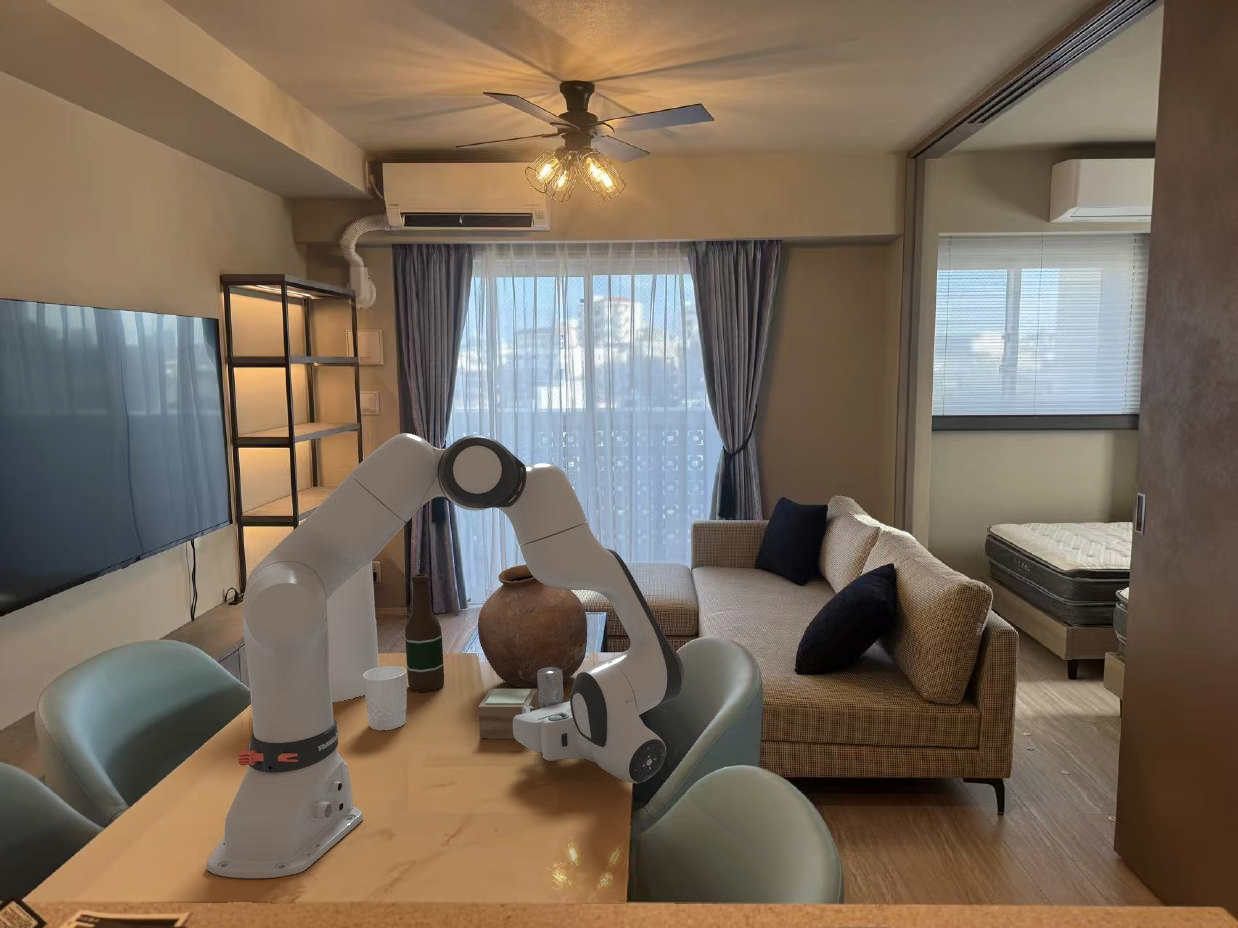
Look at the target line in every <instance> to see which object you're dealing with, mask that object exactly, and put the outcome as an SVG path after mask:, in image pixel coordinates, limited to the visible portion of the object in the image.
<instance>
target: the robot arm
mask: <svg viewBox="0 0 1238 928" xmlns="http://www.w3.org/2000/svg"><path fill="white" fill-rule="evenodd" d="M435 498H441V499H443V500H445V501H447V502H449V503H452V504H453V505H455V506H456V507H459V508H460V509H464V510H467V511H475V512H477V511H485V510H487V509H492V508H493V509H494V508H496V509H498V510H500V511H501V512H503V513H504V514H505V515H506V517H507V518H508V519H509V522H510V524H511V525H512V528H513V530H514V533H515V536H516V539H517V543H518V545H519V548H520V551H521V554H522V558H523V560H524V563H525V565H527V567H528V569H529V571H530V572H531V574H532V575H533V577H535V578H536V579H537V580H538V581H539V582H541V583H543V584H544V585H547V586H549V587H552V588H556V589H562V590H571V591H592V592H595V593H598V594H601V595H602V596H604V597H605V598H606V599H607V600H608V601H609V602H610V604H611V606H612V608H613V610H614V612H615V614H616V615H617V618H618V619H619V621H620V623H621V625H622V627H623V629H624V630H625V633H626V634H627V636H628V639H629V640H630V646H629V648H628V649H627V650H625V651H623V652H621V653H619V654H616V655H614V656H612V657H611V658H608V659H606V660H602V661H600V662H599V663H596V664H594V665H593V666H591V667H589V668H587V669H585V670H583V671H581V672H578V674H577V675H576V677H575V678H574V681H573V684H572V687H571V692H570V694H568V698H569V699H568V701H564V703H560V704H556V705H553V706H549V707H545V708H542V709H539V708H538V710H534V707H532V706H531V705H529V706H525V707H522V714H519V715H516V716H515V717H514V719H513V735H514V738H515V739H514V740H516V741H517V742H518V743H520V744H522V745H523V746H524V747H526V748H527V749H528V750H531V751H534V752H537V753H541V755H542V757H543V759H544V760H546V761H560V760H568V759H570V760H571V759H574V760H575V759H576V760H585V759H586V760H587V761H589V762H592V763H595V764H597V766H599V768H601V769H602V770H603V771H605V772H607V773H609V774H610V775H611V776H613V777H615V778H618V779H619V780H621V781H624V782H627V783H631V784H642V783H645V782H647V781H649V780H650V779H651V778H652V777H654V776H655V775H656V774H657V773H658V772H659V771H660V770H661V768H662V766H663V765H664V762H665V761H666V760H665V759H666V756H667V748H666V745H665V742H664V741H663V739H662V738H660V736H659V735H657V734H656V733H655V732H654V731H652V730H651V729H650V728H648V727H647V726H646V724H644V722H643V720H642V719H641V717H640V715H642V714H643V713H645V712H647V711H649V710H651V709H653V708H655V707H659V706H661V705H664V704H667V703H668V702H671V701H673V700H676V699H677V698H678V696H679V695H680V694H681V690H682V686H683V684H684V680H685V679H684V678H685V668H684V667H685V666H684V664H683V661H682V659H681V657H680V655H679V654H678V652H677V651H676V649H675V648H674V646H673V645H672V643H671V642H670V641H669V640H668V638H667V637H666V635H665V633H664V632H663V630H662V629H661V627H660V625H659V623H658V621H657V619H656V618H655V615H654V614H653V612H652V610H651V608H650V605H649V604H648V602H647V601H646V598H645V597H644V595H643V592H642V591H641V589H640V587H639V585H638V584H637V582H636V579H635V578H634V576H633V574H632V573H631V570H629V568H628V566H627V565H626V562H624V560H623V559H622V557H621V556H620V555H619V553H617V551H615V550H613V549H610V548H606V547H605V546H603V545H602V544H601V542H600V541H599V540H598V539H597V538H596V536H595V535H594V533H593V532H592V530H591V528H590V524H589V523H588V520H587V517H586V515H585V512H584V510H583V506H582V505H581V501H580V500H579V497H578V496H577V494H576V491H575V490H574V488H573V486H572V484H571V482H570V481H569V479H568V477H567V475H566V474H565V472H564V471H563V469H561V468H560V466H558V465H555V464H553V463H548V462H538V463H531V464H529V465H525V463H524V462H522V461H521V459H519V458H518V457H517V456H516V455H514V454H513V453H512V452H511V451H510V450H509V449H508V448H507V447H506V446H504V445H503V444H502V443H501V442H499V441H498V440H496V439H495V438H492V437H490V436H486V435H482V434H473V435H472V434H471V435H467V436H463V437H461V438H458V439H457V440H455V441H454V442H453V443H451V444H450V445H449V447H446V448H438V447H436V446H433V445H432V444H431V443H430V442H428V440H426V439H424V438H423V437H421V436H419V435H416V434H412V433H407V432H404V433H402V432H401V433H398V434H396V435H393V436H392V437H390V438H389V439H388V440H386V441H385V442H383V443H382V444H381V445H380V446H378V447H377V448H376V449H375V450H373V452H370V454H368V456H366V457H365V458H364V459H363V460H362V461H360V463H359V464H358V465H357V466H355V468H353V470H351V472H350V473H349V474H348V475H347V476H346V477H345V478H344V479H343V480H342V481H341V482H340V483H339V484H338V485H337V486H336V487H335V489H333V491H332V492H331V493H330V494H328V496H327V497H326V498H325V499H324V500H323V501H322V503H320V504H319V505H318V506H317V508H316V509H314V511H313V512H312V513H311V514H309V516H308V517H307V518H306V519H304V520H303V521H302V522H301V523H299V525H298V526H297V527H296V528H294V529H293V530H292V531H291V532H290V533H289V534H288V535H287V536H285V538H283V540H282V541H280V542H279V543H278V544H277V545H276V546H275V547H274V548H273V549H272V550H271V551H269V552H268V554H267V555H266V556H265V557H264V558H262V560H261V561H260V562H259V563H258V564H257V565H256V566H255V567H254V568H253V570H252V571H251V572H250V574H249V576H248V578H247V581H246V585H245V590H244V593H243V598H242V603H241V620H242V631H243V640H244V646H245V647H244V648H245V657H246V665H247V673H248V680H249V693H250V705H251V716H252V727H253V728H252V729H253V732H252V733H251V735H250V742H249V744H248V750H245V749H243V750H241V751H239V754H238V755H239V756H238V758H237V759H238V764H239V766H247V765H248V768H247V770H246V773H245V775H244V776H243V779H242V780H241V783H240V784H239V787H238V790H237V791H236V794H235V796H234V798H233V801H232V803H231V805H230V807H229V810H228V812H227V814H226V816H225V820H224V821H225V822H224V835H223V837H222V839H221V840H220V842H219V843H218V845H217V846H216V848H215V849H214V851H213V852H212V854H211V855H210V856H209V858H208V859H207V861H206V870H207V871H208V872H209V873H211V874H214V875H217V876H222V877H227V878H235V879H236V878H237V879H270V878H278V877H286V876H290V875H295V874H299V873H302V872H304V871H305V870H306V869H308V868H309V867H310V866H312V865H313V864H314V863H315V862H316V861H317V860H318V859H320V858H321V857H322V856H323V855H324V854H325V853H327V851H329V850H330V849H331V848H333V846H334V845H336V844H337V843H339V841H340V840H342V839H343V838H344V837H345V836H346V835H347V834H349V832H350V831H351V830H353V829H354V828H355V827H356V826H358V825H359V824H360V823H361V822H362V821H363V819H364V816H363V815H364V814H363V812H362V810H361V809H359V808H357V807H356V806H355V804H354V796H353V790H352V789H353V788H352V783H351V782H352V781H351V776H350V771H349V769H350V768H349V765H348V763H346V761H345V760H344V759H343V757H342V756H341V754H340V753H339V751H338V746H339V728H338V724H337V720H336V719H335V718H334V710H333V709H334V708H333V702H332V692H331V677H330V657H329V636H328V617H327V602H326V601H327V599H328V598H329V597H330V596H331V595H332V594H333V593H334V592H335V591H336V590H337V589H338V588H339V587H340V586H341V585H343V584H344V583H345V582H346V581H347V580H348V579H349V578H351V577H352V576H353V575H354V574H355V573H357V572H358V571H359V570H360V569H362V568H363V567H364V566H366V565H368V564H369V563H370V562H371V561H372V562H373V560H374V559H375V558H376V557H377V556H378V555H379V553H381V551H383V549H384V548H385V547H387V545H388V544H389V543H390V542H391V541H392V539H394V537H396V535H397V534H398V533H399V532H400V530H401V529H402V528H403V527H405V525H406V524H407V523H408V522H409V521H410V520H411V519H412V517H414V516H415V514H416V513H417V512H418V511H419V510H420V509H421V508H422V507H423V506H424V505H425V504H426V503H427V502H429V501H431V500H433V499H435Z"/></svg>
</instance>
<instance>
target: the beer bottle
mask: <svg viewBox="0 0 1238 928" xmlns="http://www.w3.org/2000/svg"><path fill="white" fill-rule="evenodd" d="M410 581H411V583H412V607H411V614H410V616H409V617H408V618H407V621H406V625H405V627H404V630H405V631H404V636H405V637H404V640H405V642H404V643H405V655H406V657H405V658H406V659H405V660H406V677H407V684H408V687H409V689H410V691H411V692H415V691H418V692H417V693H427V692H426V691H429V692H435V691H438V690H439V689H440V687H441V688H442V687H444V686H445V668H444V667H445V666H444V650H443V649H444V648H443V634H442V632H443V631H442V626H441V624H440V622H439V619H438V618H437V616H436V615H435V614H434V613H433V609H432V604H431V603H432V602H431V597H430V586H429V581H430V577H429V575H428V573H427V574H426V573H417V574H414V575H412V577H411V579H410ZM438 688H439V689H438ZM434 690H435V691H434Z"/></svg>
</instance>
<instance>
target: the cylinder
mask: <svg viewBox="0 0 1238 928" xmlns="http://www.w3.org/2000/svg"><path fill="white" fill-rule="evenodd" d="M373 573H374V571H373V560H372V561H371V562H370V563H369V564H368V565H366V566H364V567H363V568H362V569H360V570H359V571H358V572H357V573H355V574H354V575H353V576H352V577H351V578H349V579H348V580H347V581H346V582H345V583H344V584H343V585H341V586H340V587H339V588H338V589H337V590H336V591H335V592H334V593H333V594H332V595H331V596H330V597H329V598H328V599H327V601H326V602H327V617H328V636H329V657H330V677H331V692H332V703H339V701H340V702H345V701H344V700H346V701H348V700H347V699H351V700H354V699H353V698H355V697H358V696H361V697H364V696H365V689H364V680H363V674H364V673H365V672H367V671H369V670H371V669H374V668H378V667H380V663H379V662H380V661H379V649H378V647H379V646H378V645H379V644H378V630H377V619H376V606H375V604H376V603H375V602H376V601H375V588H374V587H375V585H374V574H373ZM363 695H364V696H363ZM358 698H359V697H358ZM355 699H356V698H355Z"/></svg>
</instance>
